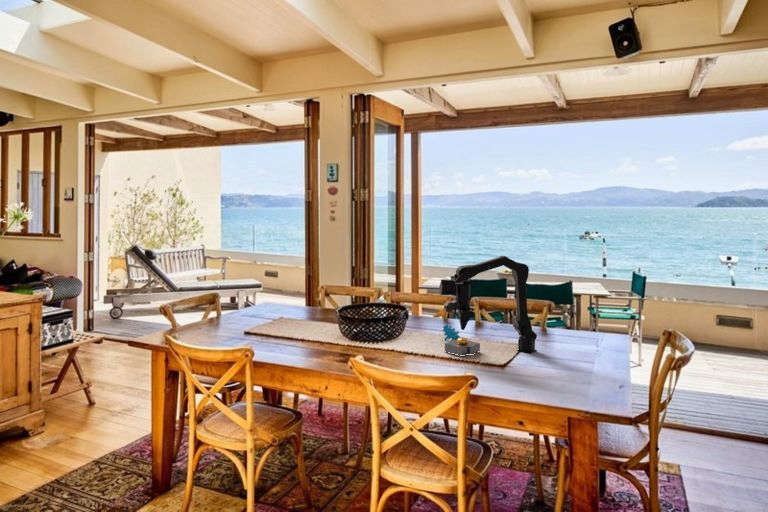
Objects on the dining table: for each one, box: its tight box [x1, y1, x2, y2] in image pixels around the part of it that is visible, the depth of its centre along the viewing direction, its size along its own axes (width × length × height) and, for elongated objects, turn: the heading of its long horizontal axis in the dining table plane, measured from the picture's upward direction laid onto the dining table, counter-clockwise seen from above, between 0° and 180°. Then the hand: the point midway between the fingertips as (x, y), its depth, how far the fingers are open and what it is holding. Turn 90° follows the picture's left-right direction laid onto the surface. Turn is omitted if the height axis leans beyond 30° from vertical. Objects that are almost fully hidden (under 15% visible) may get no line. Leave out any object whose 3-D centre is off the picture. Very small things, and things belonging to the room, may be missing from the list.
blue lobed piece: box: [442, 324, 461, 341], centre depth 237 cm, size 11×6×10 cm
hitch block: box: [444, 340, 481, 355], centre depth 217 cm, size 12×12×4 cm
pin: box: [457, 337, 468, 345], centre depth 217 cm, size 4×4×6 cm
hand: (462, 329), depth 217 cm, fingers closed
